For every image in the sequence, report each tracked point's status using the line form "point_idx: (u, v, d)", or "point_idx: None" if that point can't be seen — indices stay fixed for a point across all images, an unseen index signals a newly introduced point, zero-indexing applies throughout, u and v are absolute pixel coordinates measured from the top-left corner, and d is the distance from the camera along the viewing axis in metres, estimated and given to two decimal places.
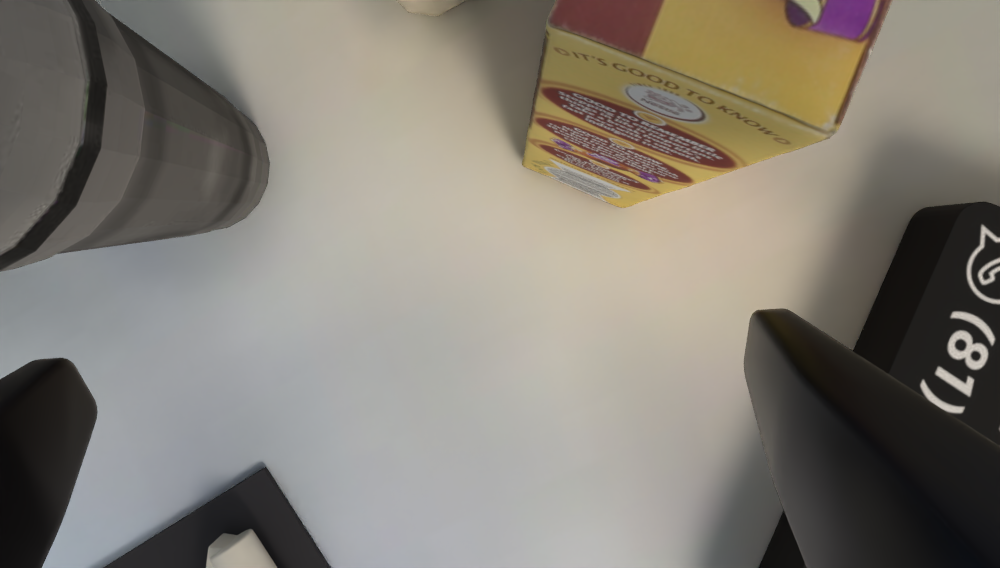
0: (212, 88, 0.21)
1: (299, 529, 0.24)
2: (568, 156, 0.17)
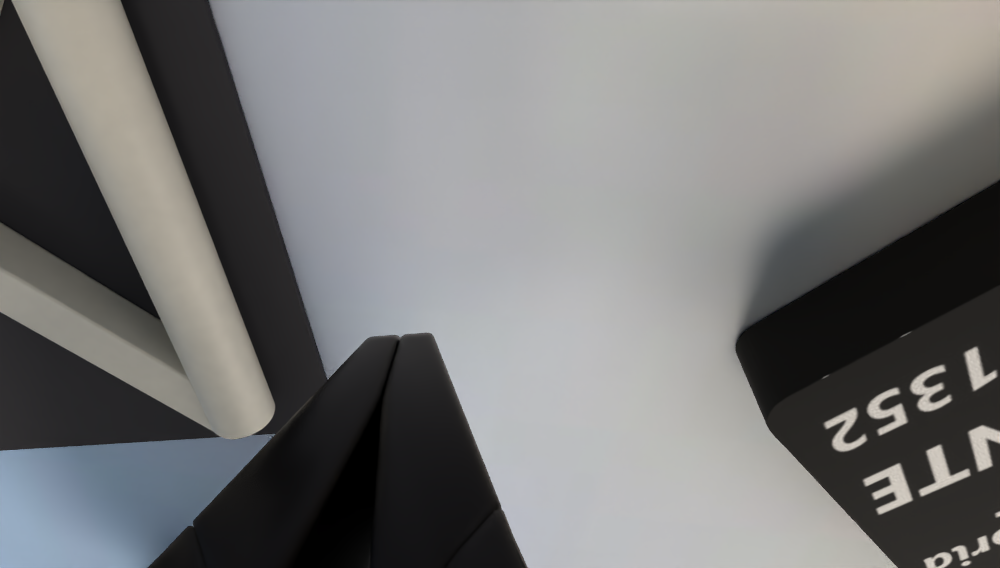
0: None
1: None
2: None
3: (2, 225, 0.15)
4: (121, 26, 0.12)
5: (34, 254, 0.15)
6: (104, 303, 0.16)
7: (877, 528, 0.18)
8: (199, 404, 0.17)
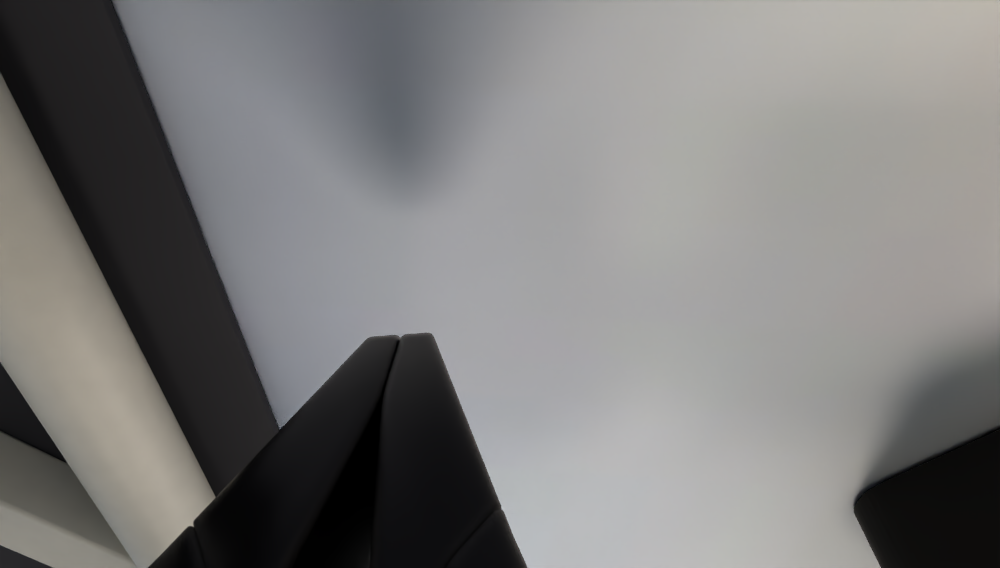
0: None
1: None
2: None
3: None
4: (9, 134, 0.08)
5: None
6: (23, 470, 0.12)
7: None
8: None
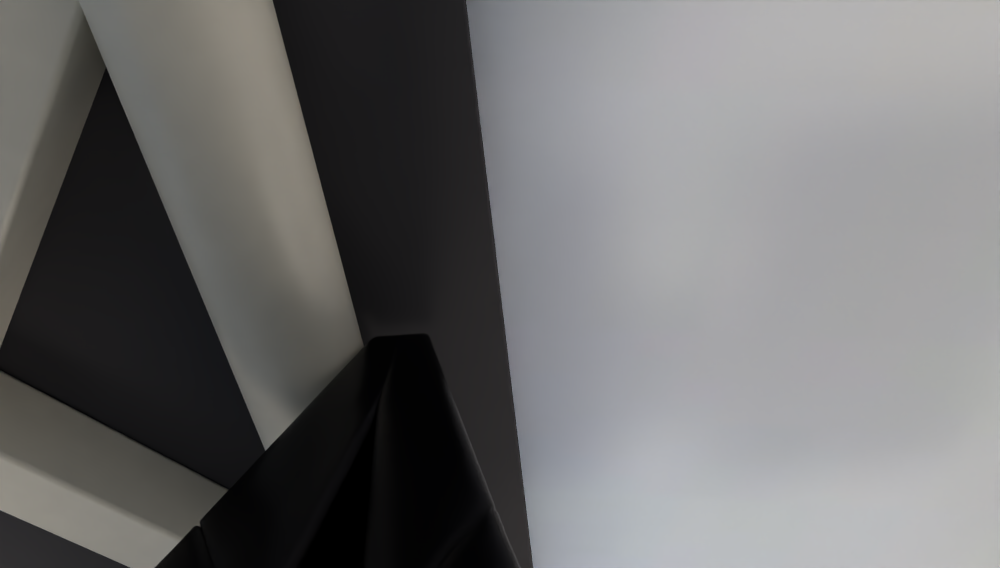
0: None
1: None
2: None
3: (68, 409, 0.10)
4: (305, 147, 0.07)
5: (114, 450, 0.10)
6: None
7: None
8: None
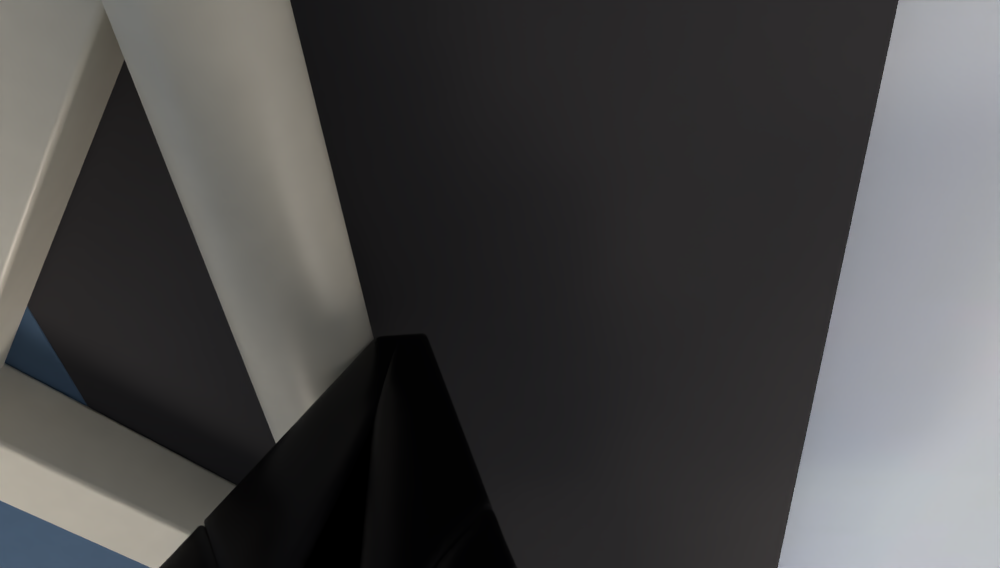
0: None
1: None
2: None
3: (78, 405, 0.10)
4: (319, 143, 0.07)
5: (124, 446, 0.10)
6: None
7: None
8: None
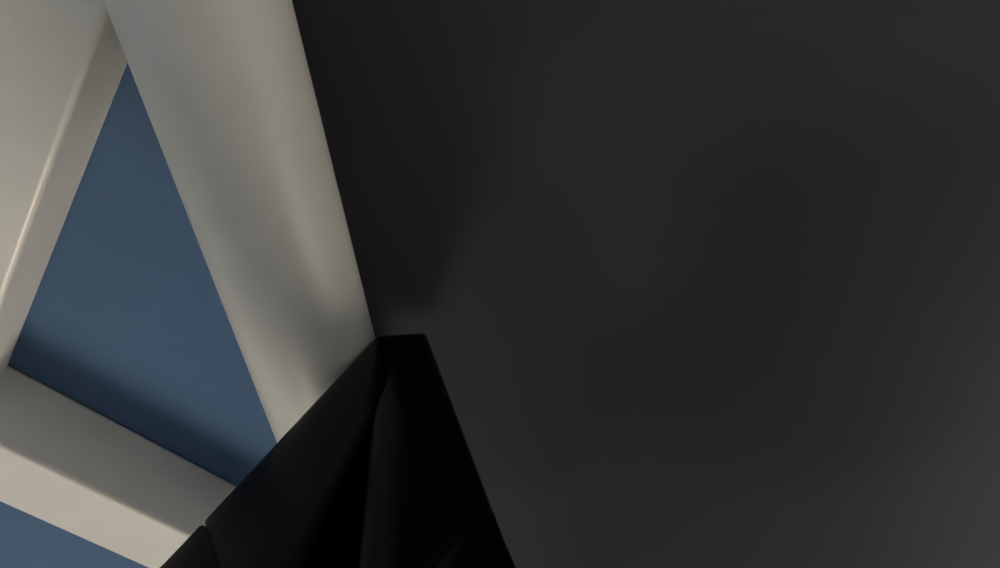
0: None
1: None
2: None
3: (81, 407, 0.10)
4: (322, 146, 0.07)
5: (127, 447, 0.10)
6: None
7: None
8: None
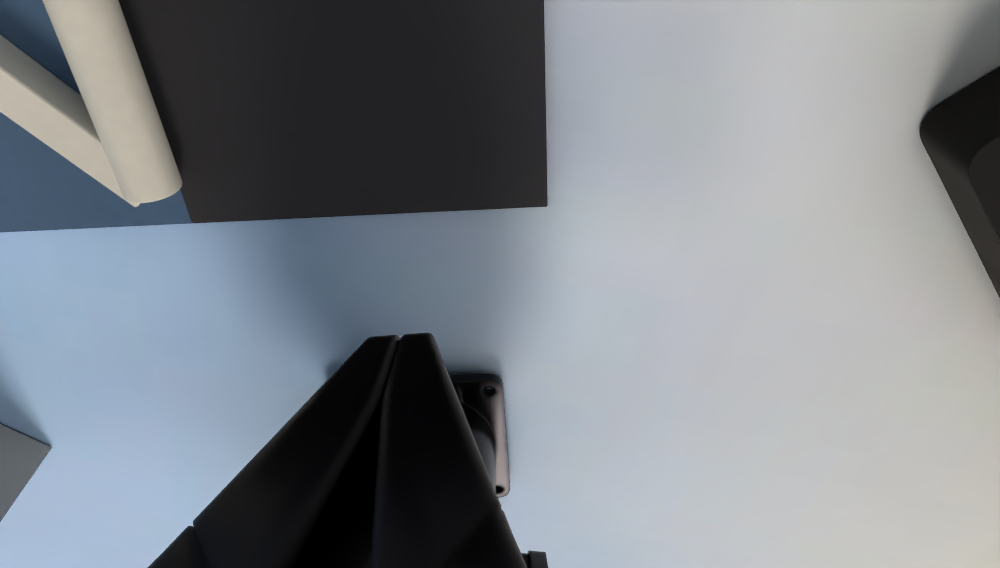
0: None
1: None
2: None
3: None
4: None
5: None
6: (24, 65, 0.18)
7: None
8: (110, 169, 0.19)
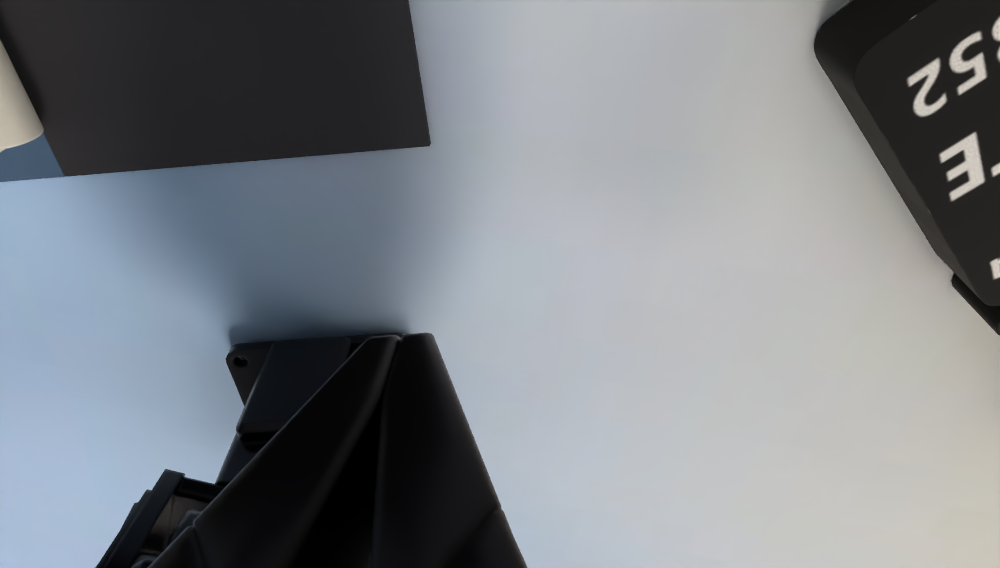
0: None
1: None
2: None
3: None
4: None
5: None
6: None
7: (948, 219, 0.19)
8: None
